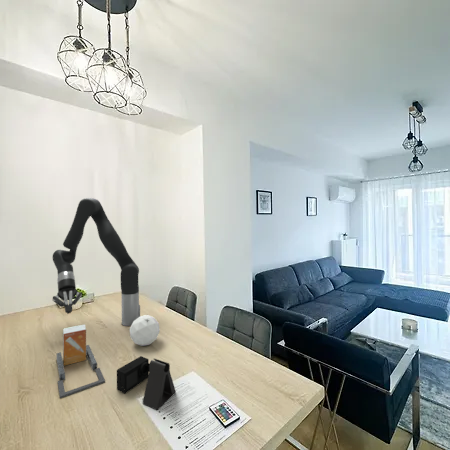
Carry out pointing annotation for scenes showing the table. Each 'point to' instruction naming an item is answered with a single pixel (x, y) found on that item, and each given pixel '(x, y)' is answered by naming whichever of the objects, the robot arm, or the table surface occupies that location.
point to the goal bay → (63, 393)
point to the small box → (74, 344)
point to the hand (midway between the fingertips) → (69, 312)
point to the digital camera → (132, 374)
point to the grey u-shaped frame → (90, 358)
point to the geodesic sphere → (144, 330)
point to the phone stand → (158, 384)
